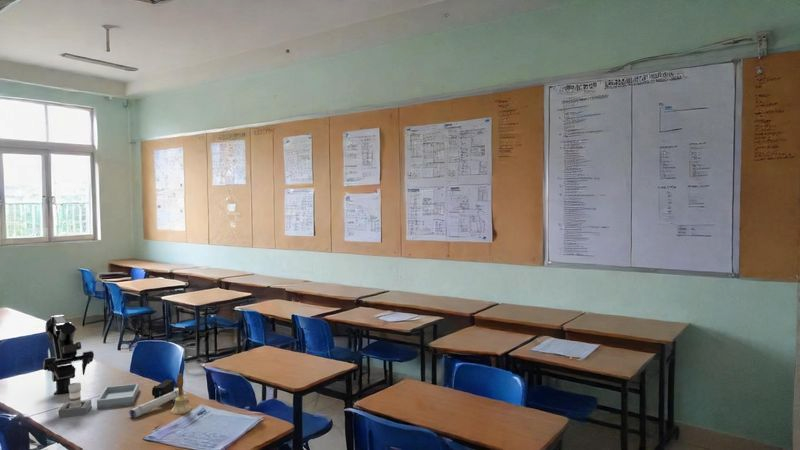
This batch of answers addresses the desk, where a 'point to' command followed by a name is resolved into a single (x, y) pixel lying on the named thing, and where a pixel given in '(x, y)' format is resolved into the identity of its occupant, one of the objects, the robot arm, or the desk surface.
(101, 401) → the tray
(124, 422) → the desk surface
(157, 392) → the digital camera
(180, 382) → the hand bell
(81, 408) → the socket block
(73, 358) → the robot arm
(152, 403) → the white long bar
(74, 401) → the light bulb
